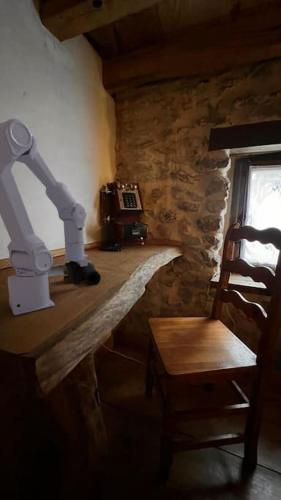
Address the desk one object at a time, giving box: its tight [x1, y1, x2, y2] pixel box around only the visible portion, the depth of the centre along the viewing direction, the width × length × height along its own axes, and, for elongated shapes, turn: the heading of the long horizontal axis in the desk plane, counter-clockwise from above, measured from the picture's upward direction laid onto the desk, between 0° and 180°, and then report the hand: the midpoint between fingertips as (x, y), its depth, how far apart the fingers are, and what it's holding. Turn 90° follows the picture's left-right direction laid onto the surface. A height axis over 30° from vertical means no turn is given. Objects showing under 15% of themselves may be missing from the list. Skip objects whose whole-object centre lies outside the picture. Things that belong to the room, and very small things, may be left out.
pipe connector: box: [63, 263, 102, 286], centre depth 83 cm, size 12×5×15 cm
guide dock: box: [48, 259, 95, 278], centre depth 91 cm, size 20×4×4 cm, turn 126°
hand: (76, 284), depth 74 cm, fingers closed
